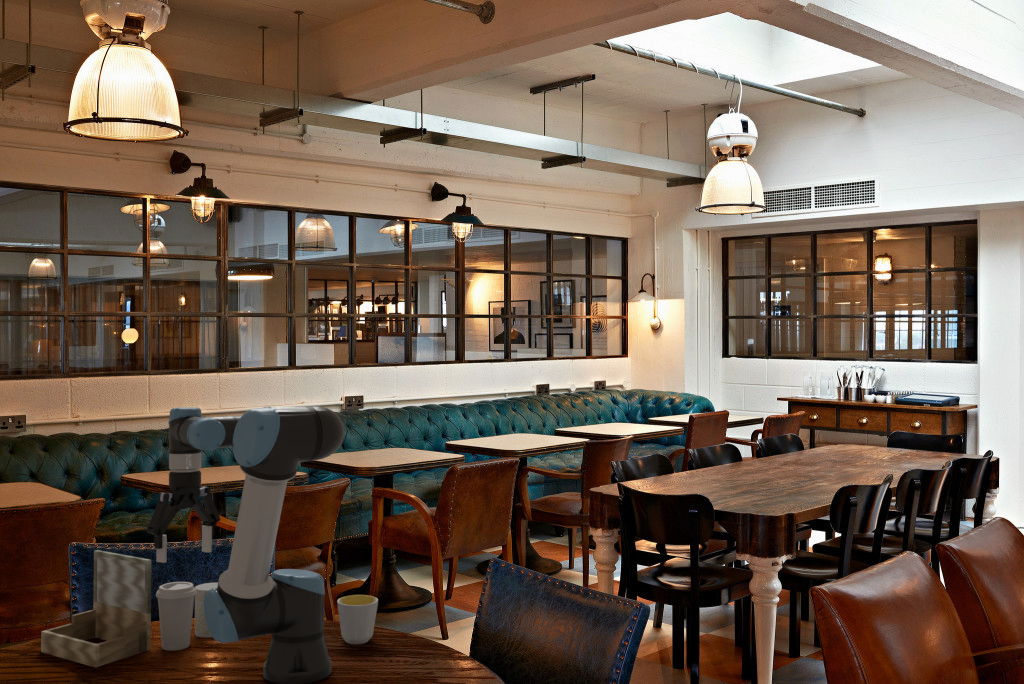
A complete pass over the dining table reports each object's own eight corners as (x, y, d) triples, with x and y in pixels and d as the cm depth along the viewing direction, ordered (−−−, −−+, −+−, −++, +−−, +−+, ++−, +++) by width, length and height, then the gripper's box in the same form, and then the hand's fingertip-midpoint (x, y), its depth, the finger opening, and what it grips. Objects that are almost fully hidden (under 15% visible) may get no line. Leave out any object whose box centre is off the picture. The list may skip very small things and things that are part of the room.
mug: (373, 647, 230) (374, 605, 230) (332, 647, 230) (333, 604, 230) (383, 631, 243) (383, 591, 243) (344, 630, 244) (344, 590, 244)
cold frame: (154, 648, 228) (155, 558, 228) (95, 667, 214) (96, 572, 214) (101, 634, 239) (101, 549, 239) (41, 652, 225) (42, 561, 225)
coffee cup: (177, 638, 236) (178, 579, 237) (204, 644, 232) (205, 584, 232) (146, 648, 228) (147, 587, 228) (173, 654, 223) (174, 592, 224)
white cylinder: (188, 635, 239) (188, 589, 239) (207, 626, 246) (207, 581, 247) (215, 638, 236) (215, 591, 236) (233, 629, 244) (234, 583, 244)
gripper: (214, 464, 241) (214, 546, 240) (131, 474, 219) (130, 564, 219) (234, 466, 237) (234, 549, 236) (152, 476, 215) (151, 568, 215)
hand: (184, 556), depth 228 cm, fingers open, 13 cm apart
